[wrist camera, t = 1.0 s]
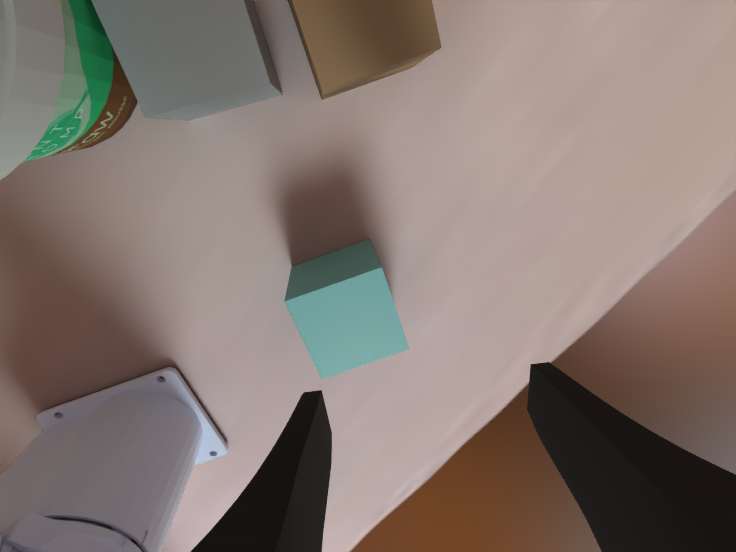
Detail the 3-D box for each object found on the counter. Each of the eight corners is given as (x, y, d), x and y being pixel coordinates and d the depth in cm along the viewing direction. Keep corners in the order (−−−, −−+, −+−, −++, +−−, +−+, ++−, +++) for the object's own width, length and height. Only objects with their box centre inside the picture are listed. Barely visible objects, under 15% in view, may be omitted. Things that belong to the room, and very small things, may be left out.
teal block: (321, 331, 24) (321, 379, 20) (291, 265, 22) (284, 301, 18) (392, 306, 24) (409, 348, 19) (368, 238, 22) (381, 267, 18)
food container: (64, 224, 20) (-161, 308, 10) (-55, 129, 17) (-476, 129, 8) (226, 62, 18) (124, -10, 9) (115, -67, 16) (-182, -353, 6)
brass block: (321, 99, 19) (322, 90, 14) (283, -13, 17) (270, -66, 12) (412, 67, 19) (441, 47, 14) (383, -49, 17) (407, -116, 12)
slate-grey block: (188, 120, 19) (145, 117, 14) (140, 5, 17) (71, -41, 12) (282, 94, 19) (270, 83, 14) (245, -23, 17) (217, -81, 12)
